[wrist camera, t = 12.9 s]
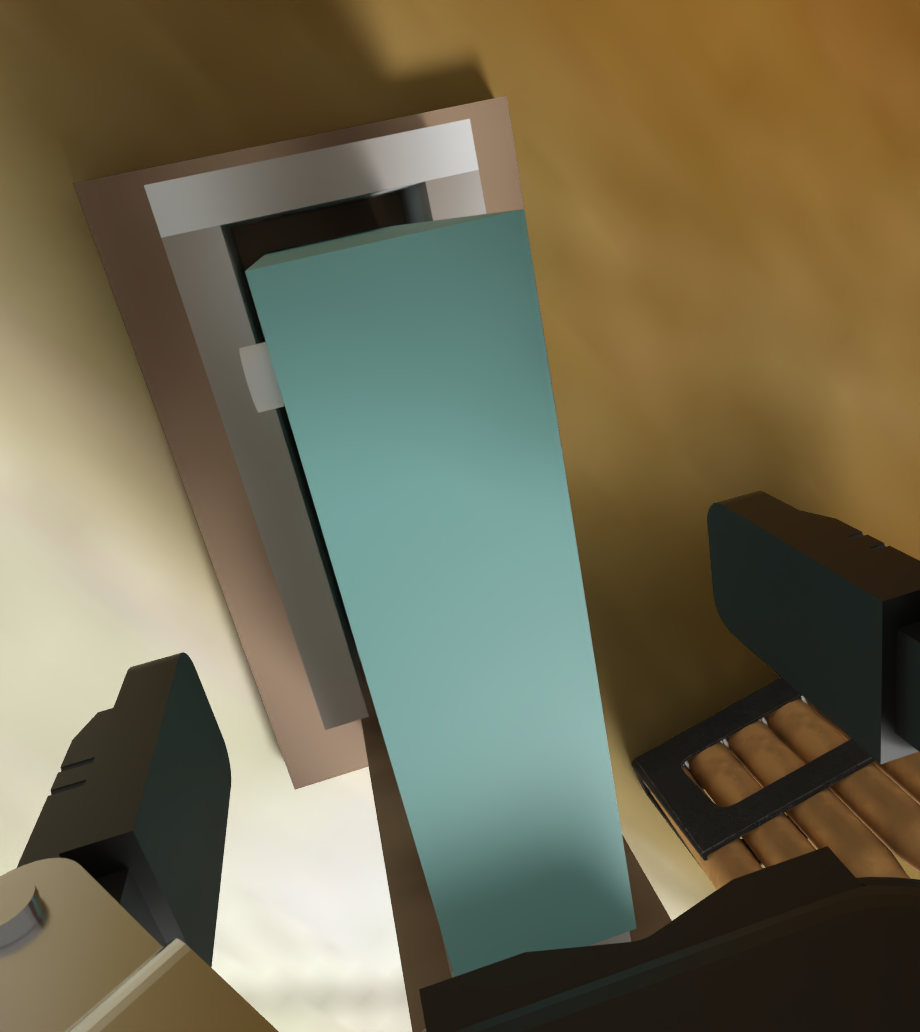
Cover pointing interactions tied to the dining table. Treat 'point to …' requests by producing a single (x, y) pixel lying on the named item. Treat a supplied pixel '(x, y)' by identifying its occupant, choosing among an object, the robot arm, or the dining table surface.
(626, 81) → the dining table surface
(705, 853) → the ammunition clip
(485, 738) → the teal door
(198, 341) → the hinge frame
